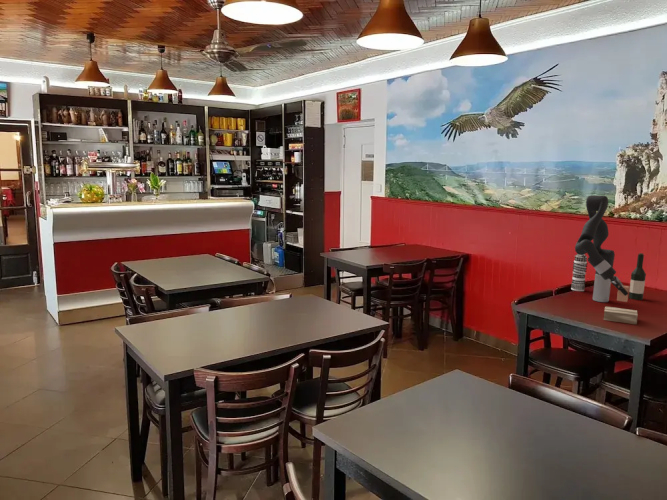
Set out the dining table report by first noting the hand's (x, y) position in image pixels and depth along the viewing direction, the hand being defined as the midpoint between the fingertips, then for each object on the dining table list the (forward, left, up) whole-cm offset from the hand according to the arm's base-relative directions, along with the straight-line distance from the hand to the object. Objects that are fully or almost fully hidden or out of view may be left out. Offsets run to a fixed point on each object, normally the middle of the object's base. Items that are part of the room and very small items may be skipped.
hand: (626, 293), depth 284 cm
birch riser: (-2, -2, -16) cm, 16 cm away
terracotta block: (0, -2, -4) cm, 5 cm away
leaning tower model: (-68, -28, -16) cm, 75 cm away
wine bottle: (-63, +7, -16) cm, 65 cm away
